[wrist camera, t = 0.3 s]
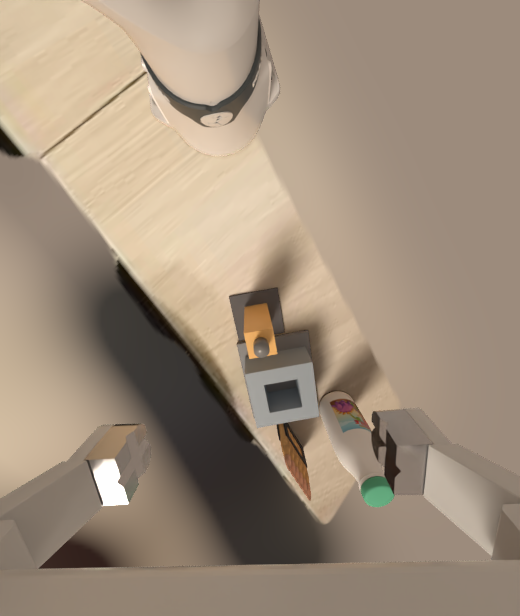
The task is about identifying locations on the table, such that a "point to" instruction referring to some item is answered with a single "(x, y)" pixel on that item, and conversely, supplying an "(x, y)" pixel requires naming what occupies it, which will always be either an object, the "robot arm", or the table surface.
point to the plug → (259, 331)
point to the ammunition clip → (294, 457)
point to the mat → (253, 299)
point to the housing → (281, 381)
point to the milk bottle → (354, 446)
